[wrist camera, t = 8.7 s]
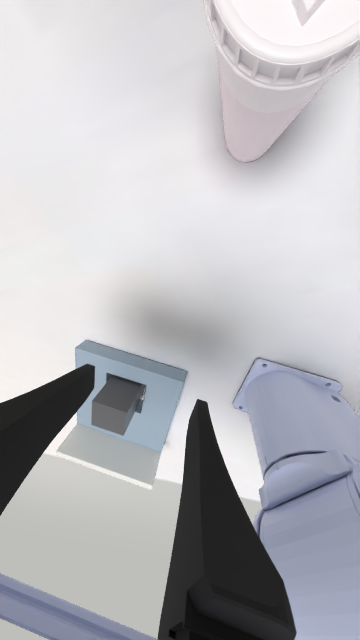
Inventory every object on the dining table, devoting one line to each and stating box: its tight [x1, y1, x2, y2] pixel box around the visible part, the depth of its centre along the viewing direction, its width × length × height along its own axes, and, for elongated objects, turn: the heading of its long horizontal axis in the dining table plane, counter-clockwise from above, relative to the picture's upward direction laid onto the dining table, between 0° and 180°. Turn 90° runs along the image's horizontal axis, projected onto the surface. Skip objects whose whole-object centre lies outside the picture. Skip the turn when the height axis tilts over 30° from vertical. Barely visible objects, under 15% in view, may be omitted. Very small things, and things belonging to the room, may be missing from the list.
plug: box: [91, 375, 145, 436], centre depth 22 cm, size 4×4×6 cm
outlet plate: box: [56, 340, 186, 490], centre depth 23 cm, size 14×16×6 cm
